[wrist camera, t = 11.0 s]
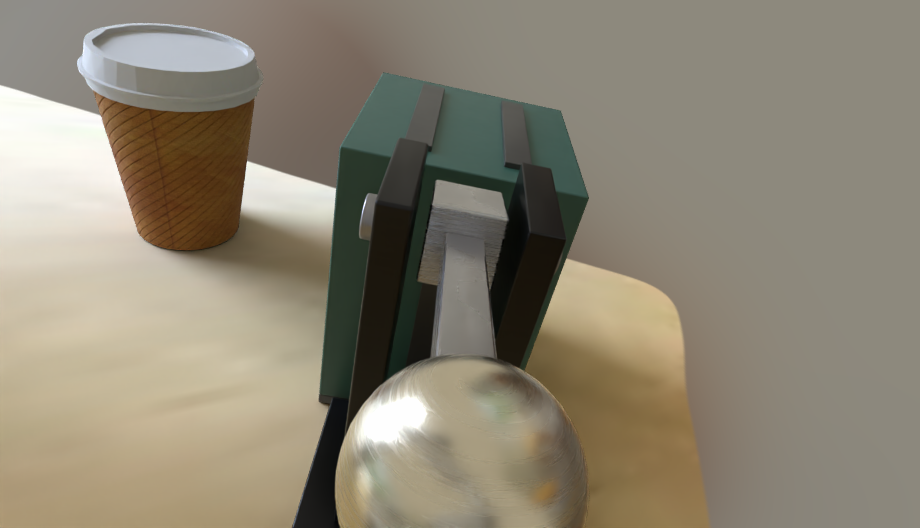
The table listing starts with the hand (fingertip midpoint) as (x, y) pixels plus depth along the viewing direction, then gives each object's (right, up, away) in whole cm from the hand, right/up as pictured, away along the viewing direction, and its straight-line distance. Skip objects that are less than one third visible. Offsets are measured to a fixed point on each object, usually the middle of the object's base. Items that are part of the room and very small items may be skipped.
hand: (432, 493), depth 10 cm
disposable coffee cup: (-18, +7, +28) cm, 34 cm away
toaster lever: (0, +2, +3) cm, 3 cm away
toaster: (-2, -1, +22) cm, 22 cm away
